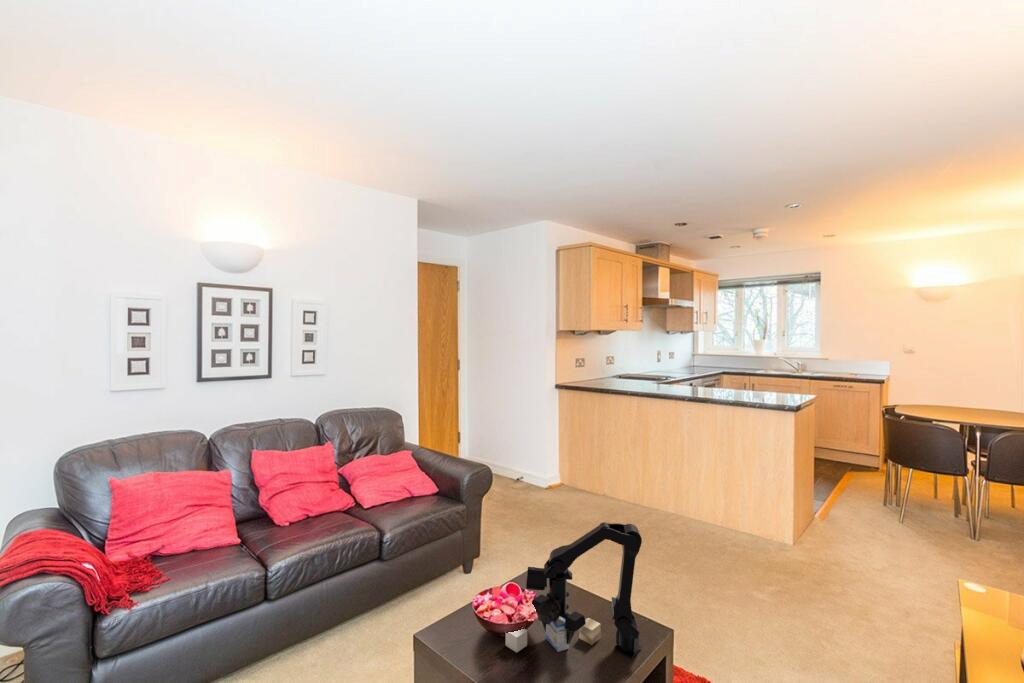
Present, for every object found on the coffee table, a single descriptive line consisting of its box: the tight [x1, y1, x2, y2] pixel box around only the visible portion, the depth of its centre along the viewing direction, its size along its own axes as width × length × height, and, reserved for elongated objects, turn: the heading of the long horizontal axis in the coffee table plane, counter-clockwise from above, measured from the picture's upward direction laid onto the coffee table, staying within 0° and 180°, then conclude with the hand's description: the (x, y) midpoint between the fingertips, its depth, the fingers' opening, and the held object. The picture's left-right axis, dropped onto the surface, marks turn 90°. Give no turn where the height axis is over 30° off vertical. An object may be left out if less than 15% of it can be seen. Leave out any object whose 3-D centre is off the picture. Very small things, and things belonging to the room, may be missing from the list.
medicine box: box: [545, 616, 570, 653], centre depth 156 cm, size 8×4×9 cm, turn 25°
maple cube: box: [578, 617, 602, 646], centre depth 160 cm, size 5×5×5 cm
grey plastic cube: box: [505, 628, 528, 654], centre depth 155 cm, size 5×5×5 cm
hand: (557, 637), depth 156 cm, fingers closed on medicine box, 9 cm apart
